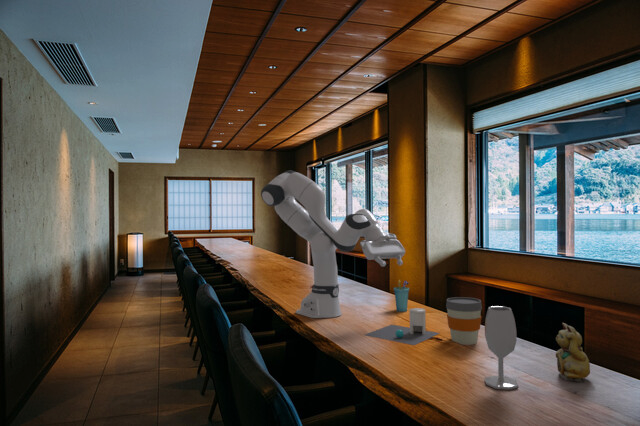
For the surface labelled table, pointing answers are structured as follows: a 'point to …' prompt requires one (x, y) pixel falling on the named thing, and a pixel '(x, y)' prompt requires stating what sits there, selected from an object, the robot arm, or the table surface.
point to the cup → (401, 297)
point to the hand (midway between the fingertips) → (392, 265)
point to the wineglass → (500, 343)
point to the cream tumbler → (417, 320)
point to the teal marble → (399, 333)
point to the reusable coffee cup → (464, 319)
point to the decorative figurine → (571, 355)
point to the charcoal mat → (407, 338)
